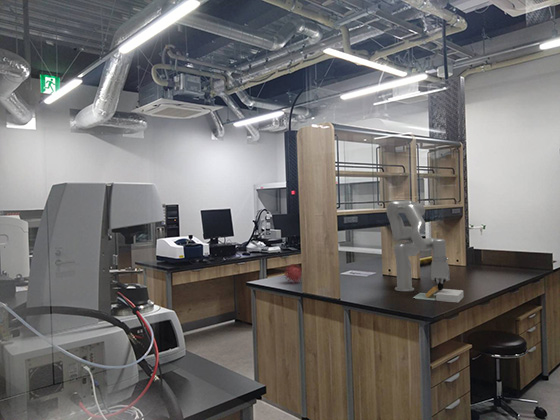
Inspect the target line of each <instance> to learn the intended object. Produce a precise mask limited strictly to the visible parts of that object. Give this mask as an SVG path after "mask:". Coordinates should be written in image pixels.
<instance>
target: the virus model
mask: <svg viewBox="0 0 560 420" xmlns="http://www.w3.org/2000/svg"><path fill="white" fill-rule="evenodd" d="M284 269H285V271H284V276H285V279H286V281H287V282H294V283H295V282H296V283H297V282H298V283H300V282H301V280H302V276H301V275H302V270H301V267H299V265H298V264H297V263H290V264H289V265H287V266H286V268H284Z"/></svg>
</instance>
